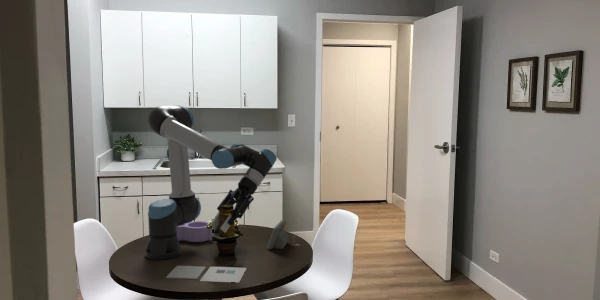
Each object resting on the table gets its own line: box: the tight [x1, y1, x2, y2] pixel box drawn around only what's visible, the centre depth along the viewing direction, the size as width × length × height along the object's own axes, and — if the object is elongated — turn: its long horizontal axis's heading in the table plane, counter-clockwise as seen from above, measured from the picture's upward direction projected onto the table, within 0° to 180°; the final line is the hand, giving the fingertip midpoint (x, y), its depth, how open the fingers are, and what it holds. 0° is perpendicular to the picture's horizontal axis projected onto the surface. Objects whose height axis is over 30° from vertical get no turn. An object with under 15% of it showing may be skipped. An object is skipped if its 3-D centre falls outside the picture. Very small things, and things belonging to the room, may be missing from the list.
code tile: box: [199, 266, 248, 284], centre depth 184 cm, size 15×15×1 cm
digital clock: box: [266, 219, 288, 250], centre depth 220 cm, size 16×9×11 cm, turn 157°
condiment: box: [212, 204, 239, 240], centre depth 184 cm, size 7×8×12 cm
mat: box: [165, 265, 207, 280], centre depth 185 cm, size 12×12×1 cm
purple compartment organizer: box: [177, 220, 214, 243], centre depth 230 cm, size 20×12×7 cm, turn 91°
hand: (217, 228), depth 182 cm, fingers closed on condiment, 6 cm apart
